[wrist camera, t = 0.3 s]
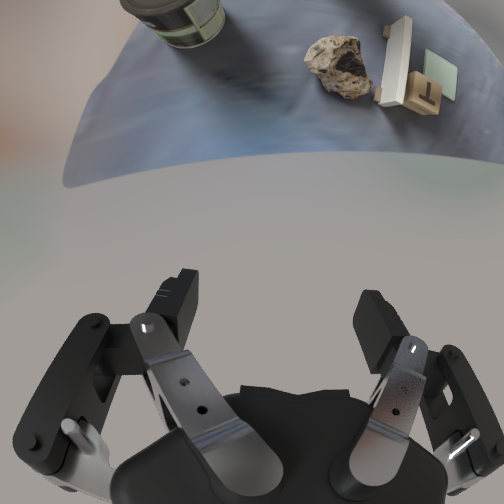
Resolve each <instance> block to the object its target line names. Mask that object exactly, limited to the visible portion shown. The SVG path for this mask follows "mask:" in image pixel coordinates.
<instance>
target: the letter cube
mask: <svg viewBox="0 0 504 504" xmlns="http://www.w3.org/2000/svg"><path fill="white" fill-rule="evenodd" d="M441 94H442V85H441V84H439V83H437V82H436V81H434V80H432V79H430V78H429V77H427V76H425V75H423V74H421V73H419V72H417V71H414V72H411V73H408V74H407V81H406V88H405V94H404V100H403V104H401V105H402V106H404V107H406V108H408V109H411V110H413V111H415V112H417V113H419V114H421V115H439V108H440V102H441Z"/></svg>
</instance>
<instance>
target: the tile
mask: <svg viewBox="0 0 504 504" xmlns="http://www.w3.org/2000/svg"><path fill="white" fill-rule="evenodd" d="M423 75H425V76H427V77H429V78H430V79H432V80H434V81H436V82H437V83H439V84H441V85H442V95H443V96H445V97H447V98H448V99H450V100H451V101H455V92H456V82H457V67H455V66H454V65H452V64H451V63H449V62H448V61H446V60H445V59H443V58H441V57H440V56H438V55H436V54H435V53H433V52H431V51H430V50H428V49H425V57H424V68H423Z"/></svg>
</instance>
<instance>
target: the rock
mask: <svg viewBox="0 0 504 504" xmlns="http://www.w3.org/2000/svg"><path fill="white" fill-rule="evenodd" d="M304 60H305V62H306V63H307V65H308V66H309V68H310V71H311V72H312V73H314V74H315V75H317V77H318V78H319V79H320V80H321V82H322V85H323V86H324V87H325V89H326V90H328V92H330V91H334V92H338V93H340V95H342V96H343V97H344V98H345V99H346V98H349V99H358V98H360V97H361V96H362V95H365V94H368V93H369V91H370V88H371V85H372V84H373V83H372V80H371V78H370V77H369V76H367V73H366V71H365V67H364V65H363V63H362V62H363V60H362V58H361V53H360V41H359V38H356V37H351V36H348V37H343V36H334V35H332V36H329V37H327V38H325V37H324V38H321V39H320V40H319V41H317V42H316V43H315V44H313V45H312V46H311V47H310V48H309V50H308V52H307V54H306V56H305V58H304Z"/></svg>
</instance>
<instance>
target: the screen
mask: <svg viewBox="0 0 504 504" xmlns="http://www.w3.org/2000/svg"><path fill="white" fill-rule="evenodd" d="M411 35H412V18H410V17H408V16H406V15H405V16H403V17H402V18H400V19H399V20H398V21H396V22H395V23H394V24H392V25H391V26H388V25H386V24H385V25H383V33H382V37H384V38H387V39H388V41H387V49H386V57H385V64H384V71H383V77H382V83H381V87H379V86H375V87H374V93H373V98H372V100H373V101H375V102H378V105H381V106H383V107H390V108H392V107H393V106H394V105H401V104H403V100H404V94H405V88H406V81H407V74H408V66H409V57H410V47H411Z"/></svg>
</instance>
